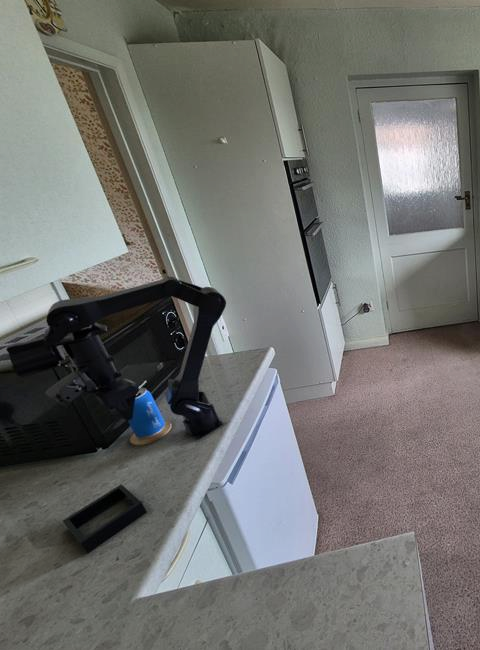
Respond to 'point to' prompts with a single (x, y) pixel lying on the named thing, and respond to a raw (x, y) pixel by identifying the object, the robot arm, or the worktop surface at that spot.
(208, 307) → the robot arm
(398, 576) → the worktop surface
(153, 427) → the beverage can
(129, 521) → the black rectangular open frame
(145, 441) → the coaster
